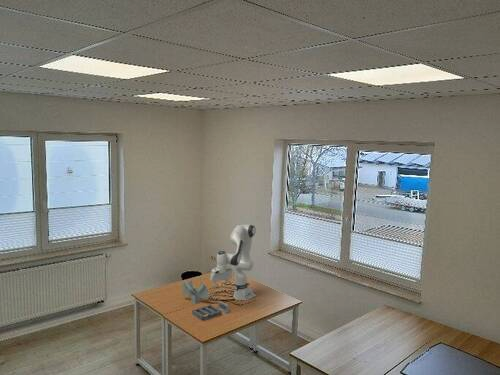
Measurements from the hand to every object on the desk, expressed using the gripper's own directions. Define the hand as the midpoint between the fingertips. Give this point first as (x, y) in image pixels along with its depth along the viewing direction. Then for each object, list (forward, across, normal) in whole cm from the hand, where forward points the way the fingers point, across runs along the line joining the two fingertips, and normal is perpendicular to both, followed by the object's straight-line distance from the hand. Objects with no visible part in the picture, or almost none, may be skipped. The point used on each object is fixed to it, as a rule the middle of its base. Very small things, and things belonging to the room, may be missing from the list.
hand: (221, 284), depth 343 cm
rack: (+24, +14, +1) cm, 28 cm away
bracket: (+24, +13, -28) cm, 39 cm away
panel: (+24, -1, +2) cm, 24 cm away
